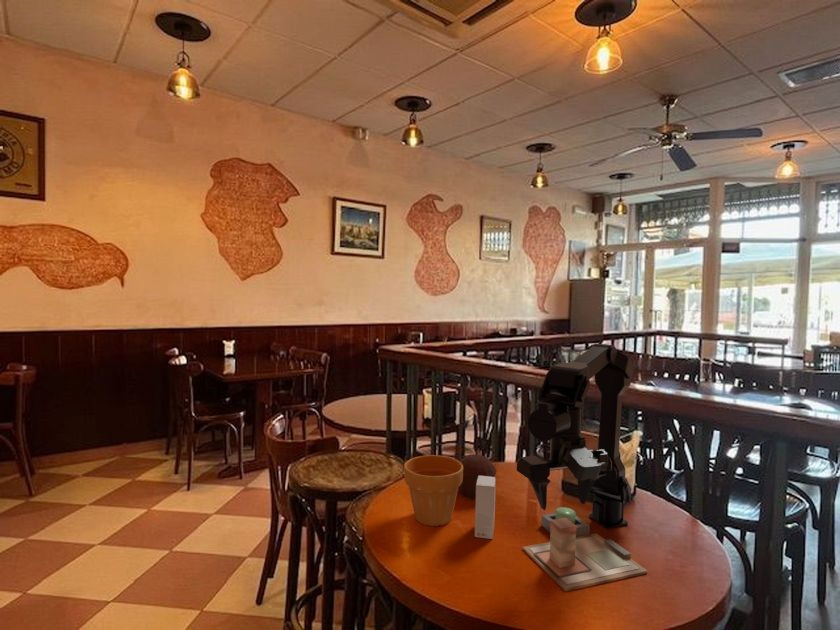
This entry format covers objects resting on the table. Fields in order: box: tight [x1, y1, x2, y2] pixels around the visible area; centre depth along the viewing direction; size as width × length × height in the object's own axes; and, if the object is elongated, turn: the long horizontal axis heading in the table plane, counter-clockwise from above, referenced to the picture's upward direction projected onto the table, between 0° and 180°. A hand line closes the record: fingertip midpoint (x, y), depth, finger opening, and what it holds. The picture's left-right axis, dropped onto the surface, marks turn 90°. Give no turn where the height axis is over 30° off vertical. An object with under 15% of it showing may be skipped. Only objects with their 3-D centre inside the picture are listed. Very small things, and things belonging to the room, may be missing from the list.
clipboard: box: [522, 533, 648, 592], centre depth 98 cm, size 19×15×2 cm
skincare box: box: [474, 476, 496, 540], centre depth 108 cm, size 6×4×12 cm
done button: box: [555, 506, 577, 524], centre depth 110 cm, size 4×4×3 cm
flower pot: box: [403, 454, 463, 527], centre depth 115 cm, size 14×14×13 cm
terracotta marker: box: [549, 518, 576, 568], centre depth 96 cm, size 4×4×8 cm
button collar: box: [541, 512, 591, 537], centre depth 110 cm, size 8×8×2 cm
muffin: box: [458, 453, 498, 501], centre depth 130 cm, size 12×11×10 cm
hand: (563, 506), depth 95 cm, fingers open, 9 cm apart
